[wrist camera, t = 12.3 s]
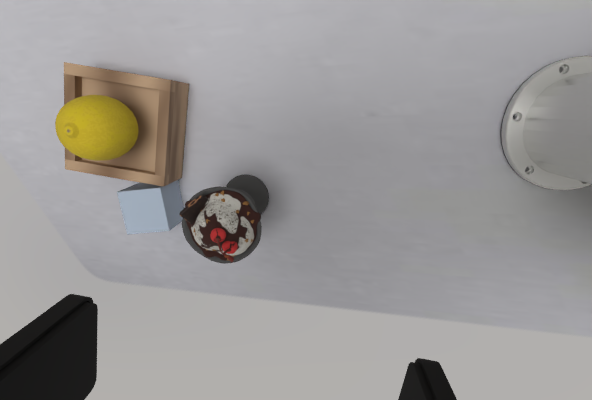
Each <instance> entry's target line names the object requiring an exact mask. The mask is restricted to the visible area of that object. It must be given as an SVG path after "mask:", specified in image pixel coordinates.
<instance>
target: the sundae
mask: <svg viewBox="0 0 592 400" xmlns="http://www.w3.org/2000/svg"><path fill="white" fill-rule="evenodd" d="M268 201H269V195H268V191H267V188H266V186H265V185H264V184H263V182H262V181H261V180H259V179H258V178H256V177H254V176H251V175H240V176H237V177H235V178H233V179H232V180H231V181H230V182H229V183H228V185H227V187H214V188H209V189H205V190H202V191H200V192H198V193H197V194H195V195H194V196H193V197H192V198H191V199H190V200H189V201H187V202H186V203H185V207H186V208H184V209H183V210H182V211H181V212H180V214H179V215H180V216H181V217H182V218H183V219H182V228H183V232H184V235H185V238H186V240H187V242H188V243H189V244H190V246H191V247H192V248H193V249H194V250H195V251H197V252H198V253H199V254H201V255H203V256H204V257H206V258H208V259H210V260H212V261H215V262H219V263H233V262H237V261H239V260H241V259H243V258H245V257H246V256H248V255H249V254H251V253H252V251H253V250H254V249H255V248H256V247H257V245H258V243H259V241H260V237H261V222H260V219H261V213H263V211H264V210H265V209H266V207H267V205H268Z"/></svg>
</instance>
